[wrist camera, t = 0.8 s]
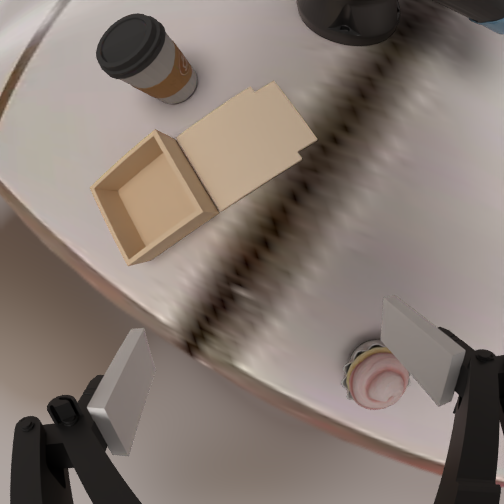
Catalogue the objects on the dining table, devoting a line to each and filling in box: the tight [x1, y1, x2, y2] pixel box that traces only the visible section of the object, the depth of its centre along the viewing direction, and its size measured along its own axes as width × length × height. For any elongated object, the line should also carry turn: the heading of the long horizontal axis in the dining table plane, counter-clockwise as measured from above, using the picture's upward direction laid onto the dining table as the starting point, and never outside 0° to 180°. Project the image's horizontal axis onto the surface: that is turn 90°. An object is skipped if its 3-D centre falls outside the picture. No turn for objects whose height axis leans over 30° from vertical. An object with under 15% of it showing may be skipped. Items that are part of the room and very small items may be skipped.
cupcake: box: [341, 340, 410, 410], centre depth 33 cm, size 9×9×10 cm
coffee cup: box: [96, 14, 197, 104], centre depth 32 cm, size 8×8×15 cm
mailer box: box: [90, 81, 318, 266], centre depth 37 cm, size 28×12×6 cm, turn 122°
